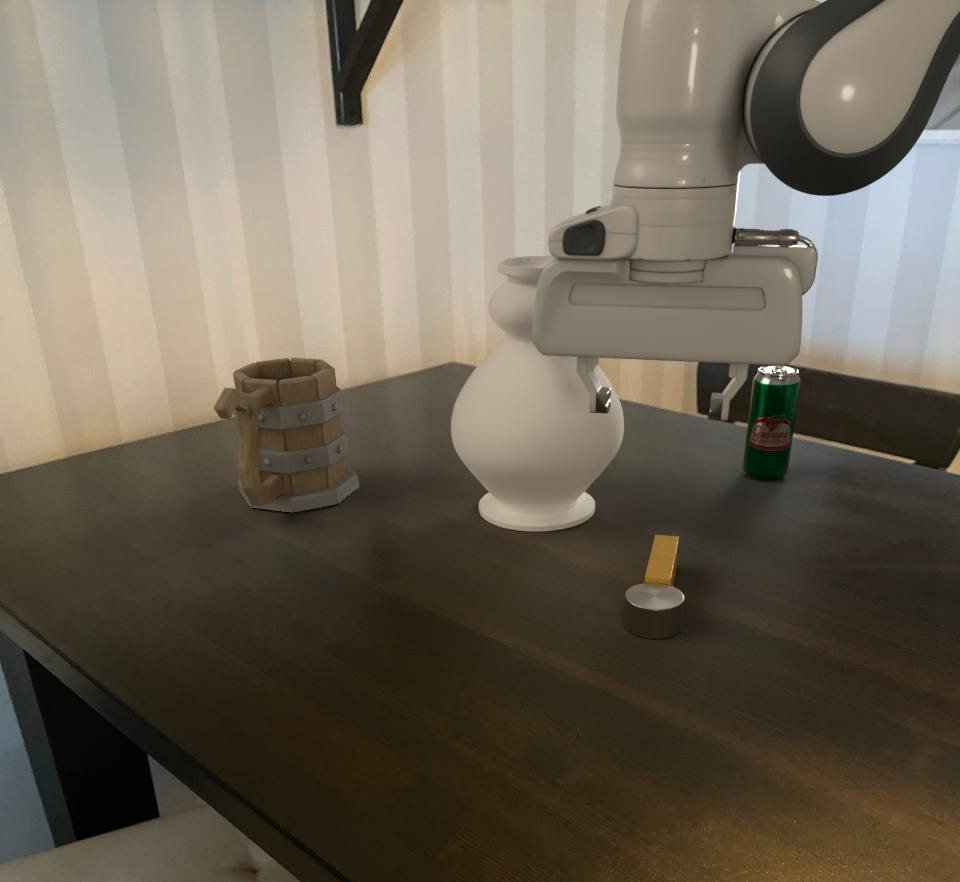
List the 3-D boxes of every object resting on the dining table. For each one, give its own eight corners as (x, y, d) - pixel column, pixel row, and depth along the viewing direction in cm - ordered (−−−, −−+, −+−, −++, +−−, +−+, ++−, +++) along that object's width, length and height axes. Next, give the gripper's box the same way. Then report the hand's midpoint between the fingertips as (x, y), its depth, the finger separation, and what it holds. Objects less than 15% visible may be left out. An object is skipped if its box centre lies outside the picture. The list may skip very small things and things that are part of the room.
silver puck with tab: (639, 564, 88) (641, 533, 87) (690, 568, 87) (693, 537, 85) (619, 636, 77) (621, 601, 75) (679, 642, 75) (682, 607, 74)
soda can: (741, 480, 106) (754, 375, 100) (741, 465, 110) (754, 363, 104) (788, 483, 105) (803, 376, 99) (786, 468, 109) (801, 364, 103)
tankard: (279, 468, 114) (261, 343, 106) (373, 478, 110) (361, 348, 103) (183, 531, 98) (154, 389, 90) (289, 545, 94) (268, 398, 87)
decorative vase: (640, 491, 104) (654, 251, 92) (587, 553, 90) (596, 281, 78) (495, 471, 111) (490, 246, 98) (425, 527, 97) (410, 272, 85)
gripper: (820, 223, 68) (793, 411, 75) (546, 221, 73) (544, 397, 80) (823, 234, 63) (793, 435, 70) (527, 232, 68) (527, 419, 75)
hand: (658, 415), depth 75 cm, fingers open, 8 cm apart
